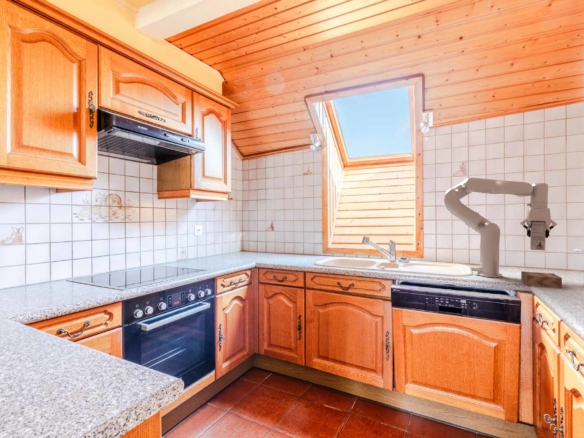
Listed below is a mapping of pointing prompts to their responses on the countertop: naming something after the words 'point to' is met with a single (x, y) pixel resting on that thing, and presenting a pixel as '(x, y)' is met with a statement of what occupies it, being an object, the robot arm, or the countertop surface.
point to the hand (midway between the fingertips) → (537, 237)
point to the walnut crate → (541, 279)
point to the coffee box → (538, 235)
